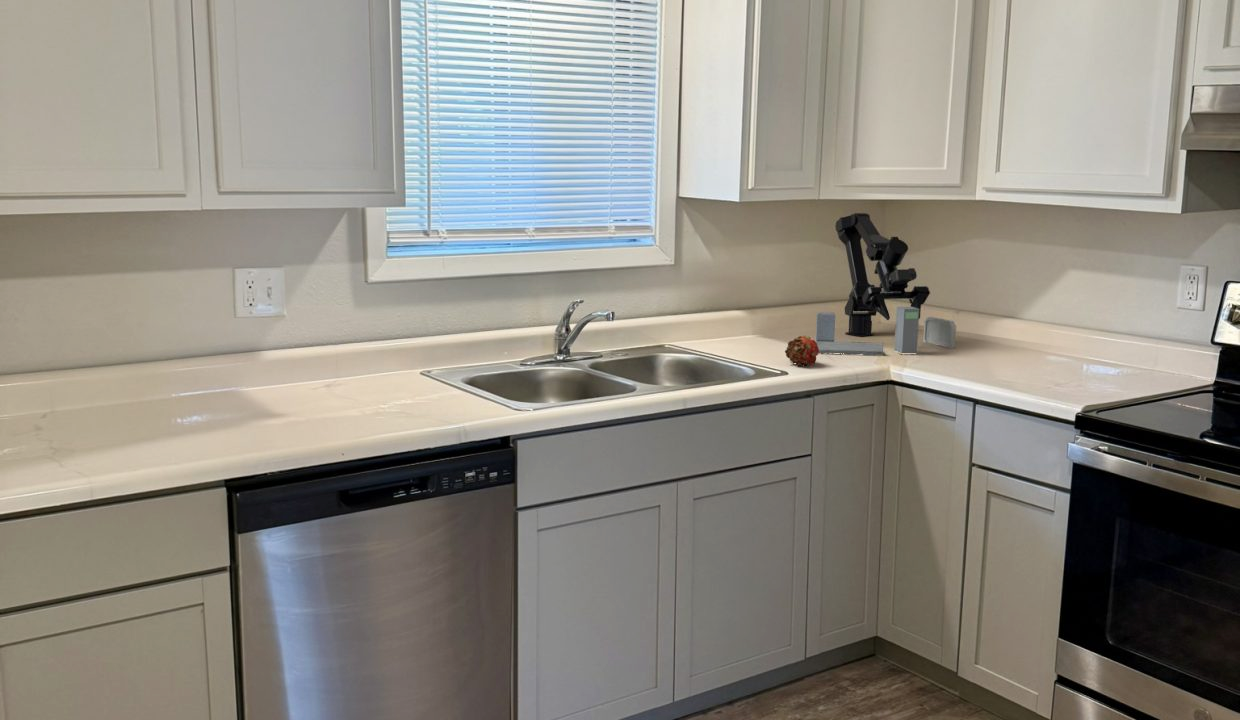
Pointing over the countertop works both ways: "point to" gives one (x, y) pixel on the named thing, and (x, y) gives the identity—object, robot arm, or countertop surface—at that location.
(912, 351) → the block
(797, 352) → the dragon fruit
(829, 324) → the rail
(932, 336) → the light switch
